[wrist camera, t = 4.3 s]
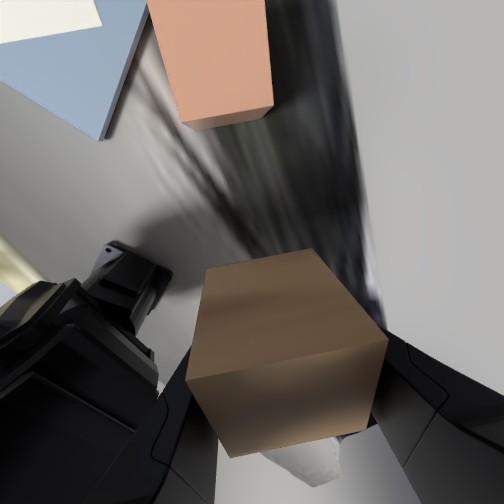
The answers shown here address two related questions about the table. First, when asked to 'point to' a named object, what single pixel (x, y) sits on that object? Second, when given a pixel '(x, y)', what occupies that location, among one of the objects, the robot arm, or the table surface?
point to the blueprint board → (71, 55)
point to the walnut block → (282, 354)
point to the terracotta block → (215, 59)
